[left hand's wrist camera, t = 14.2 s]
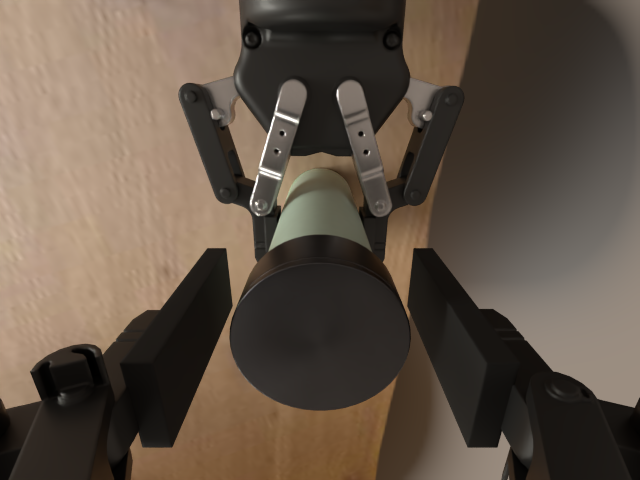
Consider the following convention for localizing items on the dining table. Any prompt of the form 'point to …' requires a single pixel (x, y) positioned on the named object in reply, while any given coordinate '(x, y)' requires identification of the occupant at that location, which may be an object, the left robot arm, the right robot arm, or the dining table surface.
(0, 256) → the dining table surface
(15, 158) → the dining table surface
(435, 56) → the dining table surface
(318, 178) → the jar
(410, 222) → the dining table surface
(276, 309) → the lid
